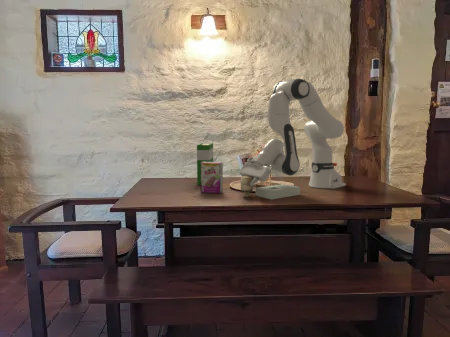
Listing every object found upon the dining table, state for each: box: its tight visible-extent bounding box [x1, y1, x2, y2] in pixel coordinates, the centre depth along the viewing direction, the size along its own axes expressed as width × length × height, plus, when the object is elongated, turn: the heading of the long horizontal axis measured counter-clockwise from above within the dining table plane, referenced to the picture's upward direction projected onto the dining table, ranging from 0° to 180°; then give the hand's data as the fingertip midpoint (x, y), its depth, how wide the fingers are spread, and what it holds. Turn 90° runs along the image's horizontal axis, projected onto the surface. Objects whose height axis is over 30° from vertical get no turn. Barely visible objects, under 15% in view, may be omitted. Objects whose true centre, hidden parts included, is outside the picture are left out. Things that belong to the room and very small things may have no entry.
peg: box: [240, 176, 254, 198], centre depth 194 cm, size 6×6×10 cm
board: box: [255, 183, 301, 200], centre depth 197 cm, size 20×12×4 cm, turn 125°
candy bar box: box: [200, 161, 224, 194], centre depth 204 cm, size 11×5×16 cm, turn 74°
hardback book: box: [196, 142, 214, 186], centre depth 235 cm, size 18×7×24 cm, turn 174°
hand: (245, 184), depth 194 cm, fingers closed on peg, 6 cm apart
